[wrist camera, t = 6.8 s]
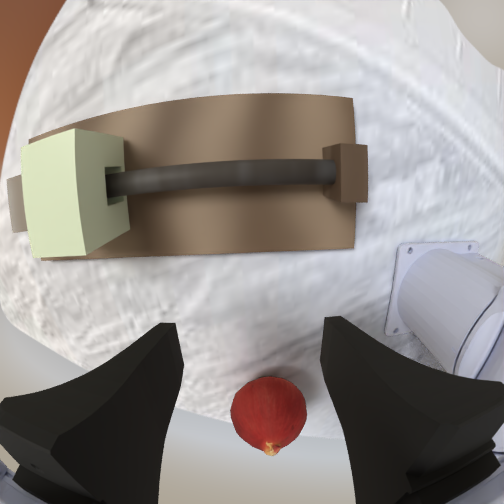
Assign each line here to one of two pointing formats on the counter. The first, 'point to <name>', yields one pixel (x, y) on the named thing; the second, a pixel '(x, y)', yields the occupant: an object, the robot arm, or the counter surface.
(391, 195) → the counter surface
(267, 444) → the onion
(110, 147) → the sleeve
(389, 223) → the counter surface
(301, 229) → the cord board
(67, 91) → the counter surface
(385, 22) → the counter surface
